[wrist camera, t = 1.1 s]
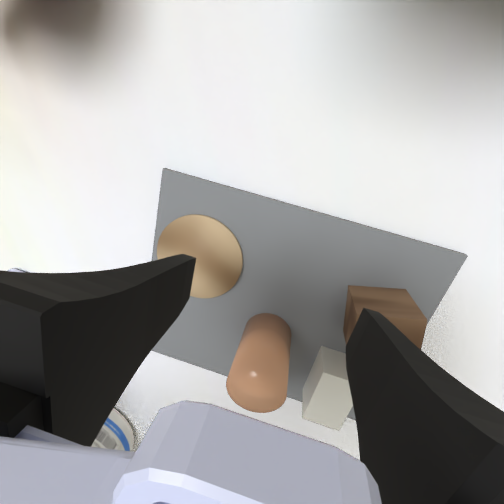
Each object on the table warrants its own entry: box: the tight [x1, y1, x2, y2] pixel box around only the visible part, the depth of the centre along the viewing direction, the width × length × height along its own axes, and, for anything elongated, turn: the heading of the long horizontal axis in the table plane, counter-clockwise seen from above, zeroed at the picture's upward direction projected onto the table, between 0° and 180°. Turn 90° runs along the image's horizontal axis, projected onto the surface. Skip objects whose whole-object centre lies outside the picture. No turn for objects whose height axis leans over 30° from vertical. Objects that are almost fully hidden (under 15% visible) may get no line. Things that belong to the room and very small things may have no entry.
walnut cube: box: [343, 285, 428, 350], centre depth 20 cm, size 4×4×4 cm
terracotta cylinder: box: [226, 313, 291, 413], centre depth 21 cm, size 4×4×6 cm
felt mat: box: [152, 168, 467, 420], centre depth 23 cm, size 17×22×1 cm
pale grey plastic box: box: [302, 346, 353, 431], centre depth 23 cm, size 5×3×3 cm, turn 166°
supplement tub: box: [91, 408, 134, 451], centre depth 26 cm, size 10×10×15 cm
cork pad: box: [157, 214, 243, 298], centre depth 22 cm, size 7×7×1 cm
